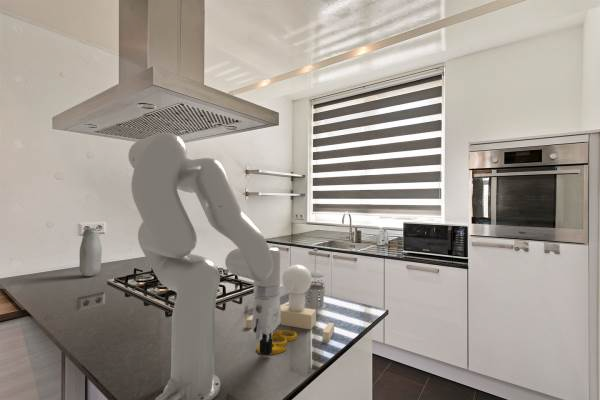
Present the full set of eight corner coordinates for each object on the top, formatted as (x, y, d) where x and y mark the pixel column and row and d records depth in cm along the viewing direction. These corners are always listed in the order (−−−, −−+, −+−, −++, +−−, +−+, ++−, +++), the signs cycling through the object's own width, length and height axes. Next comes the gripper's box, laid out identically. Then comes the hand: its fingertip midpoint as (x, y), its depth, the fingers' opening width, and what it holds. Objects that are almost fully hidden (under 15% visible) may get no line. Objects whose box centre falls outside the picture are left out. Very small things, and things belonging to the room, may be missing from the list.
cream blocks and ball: (328, 341, 96) (329, 275, 96) (246, 327, 106) (247, 267, 106) (339, 322, 112) (339, 265, 112) (266, 311, 121) (267, 259, 122)
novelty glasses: (305, 338, 99) (281, 331, 104) (305, 334, 99) (281, 326, 104) (272, 360, 85) (247, 349, 91) (272, 354, 85) (247, 344, 91)
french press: (318, 301, 136) (319, 246, 136) (332, 309, 126) (333, 250, 126) (299, 304, 132) (300, 247, 132) (312, 312, 121) (313, 251, 122)
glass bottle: (84, 274, 177) (85, 227, 177) (103, 273, 179) (104, 227, 179) (75, 278, 167) (77, 228, 167) (96, 277, 170) (97, 228, 170)
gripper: (267, 299, 78) (266, 369, 78) (288, 284, 92) (287, 344, 92) (242, 295, 81) (241, 363, 81) (266, 282, 95) (265, 339, 95)
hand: (265, 353), depth 86 cm, fingers closed
